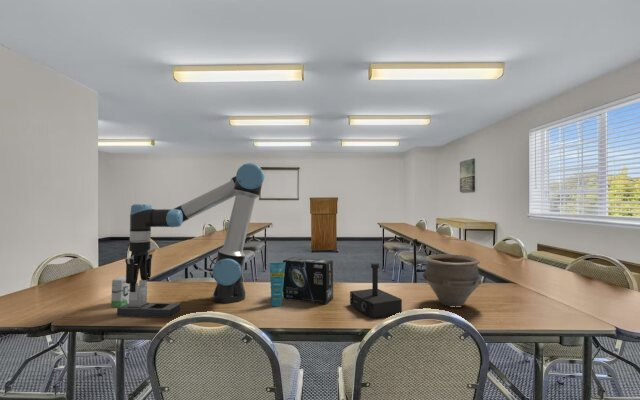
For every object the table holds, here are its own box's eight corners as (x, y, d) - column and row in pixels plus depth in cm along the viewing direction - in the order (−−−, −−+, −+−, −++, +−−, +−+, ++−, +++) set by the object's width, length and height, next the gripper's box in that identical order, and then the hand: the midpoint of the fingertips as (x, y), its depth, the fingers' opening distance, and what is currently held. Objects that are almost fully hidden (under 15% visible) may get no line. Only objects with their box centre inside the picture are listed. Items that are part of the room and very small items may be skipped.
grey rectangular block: (146, 307, 124) (147, 285, 124) (139, 311, 119) (140, 288, 119) (136, 307, 124) (137, 285, 124) (128, 310, 119) (129, 288, 120)
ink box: (120, 307, 128) (121, 280, 128) (110, 307, 129) (111, 279, 129) (135, 301, 136) (136, 276, 137) (126, 301, 137) (127, 275, 137)
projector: (345, 305, 134) (346, 261, 134) (376, 301, 140) (376, 259, 141) (368, 320, 116) (369, 269, 117) (403, 314, 123) (402, 266, 123)
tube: (268, 307, 130) (269, 263, 130) (268, 303, 135) (268, 261, 135) (285, 306, 131) (286, 263, 132) (284, 302, 136) (285, 261, 137)
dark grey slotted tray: (180, 310, 124) (180, 303, 125) (169, 317, 116) (169, 309, 117) (130, 309, 126) (131, 302, 126) (116, 315, 118) (117, 308, 118)
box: (282, 298, 143) (282, 259, 143) (291, 293, 152) (292, 256, 153) (326, 305, 134) (326, 263, 134) (333, 299, 143) (334, 259, 144)
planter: (494, 309, 130) (494, 259, 131) (461, 318, 118) (461, 263, 119) (444, 294, 151) (444, 251, 152) (412, 301, 139) (412, 254, 140)
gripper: (145, 239, 132) (143, 291, 131) (115, 243, 114) (113, 304, 113) (161, 239, 131) (159, 292, 130) (134, 243, 114) (132, 304, 113)
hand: (138, 297), depth 122 cm, fingers closed on grey rectangular block, 4 cm apart
